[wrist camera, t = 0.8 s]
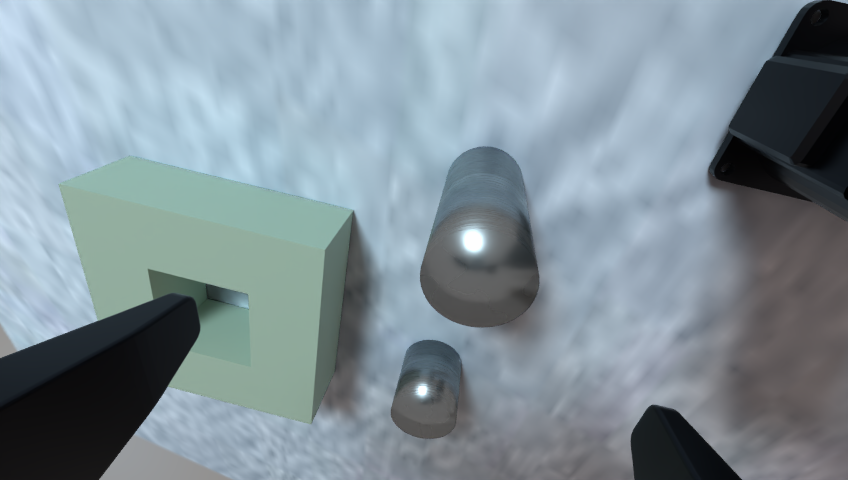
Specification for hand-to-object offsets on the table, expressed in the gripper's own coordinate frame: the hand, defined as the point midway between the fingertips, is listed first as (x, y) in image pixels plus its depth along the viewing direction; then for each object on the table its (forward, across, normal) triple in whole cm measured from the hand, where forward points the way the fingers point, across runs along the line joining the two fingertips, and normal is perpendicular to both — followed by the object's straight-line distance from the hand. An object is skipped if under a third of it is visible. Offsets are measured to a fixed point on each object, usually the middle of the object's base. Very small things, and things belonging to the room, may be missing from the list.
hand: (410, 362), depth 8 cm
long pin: (+12, -1, +1) cm, 12 cm away
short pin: (+12, 0, +13) cm, 18 cm away
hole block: (+12, +11, +9) cm, 19 cm away
